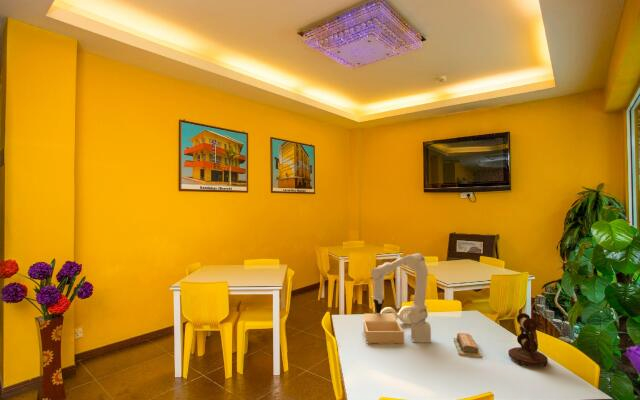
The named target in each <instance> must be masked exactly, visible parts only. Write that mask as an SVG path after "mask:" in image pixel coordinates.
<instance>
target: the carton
mask: <svg viewBox="0 0 640 400" xmlns="http://www.w3.org/2000/svg"><path fill="white" fill-rule="evenodd" d="M404 332H405V331H404V330H403V328H402V326H401V325H400V323H399V321H396V322H365V321H363V334H365V335H364V338H366V339H365V341H366V342H368V343H394V344H396V345H397V344H399V345H400V344H402V345H403V344H404V342H405V340H404V339H405V338H404V337H405V336H404V335H405V334H404Z"/></svg>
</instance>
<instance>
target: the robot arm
mask: <svg viewBox="0 0 640 400" xmlns="http://www.w3.org/2000/svg"><path fill="white" fill-rule="evenodd" d="M403 265H404V266H407V267H408V268H410V269H411V270H412V271H413V272H415V274H416V278H415V284H414V285H415V288H414V296H413V304H412V305H411V306H410V307H411V310H410V312H409V314H408V318H409V320H410V321H411V324H410V334H411V335H410V334H409V336H408V337H409V339H410V340H411V342H412V343H432V331H431V324H430V322H428V321H426V319H427V318H428V316H429V315H428V309H427V308H428V307H427V305H426V304H425V302H426V292H427V285H428V274H429V269H428V267H427V264H426V257H424V256H423V254H422V253H419V252H416V253H413V254H407V255H405V256H402V257H399V258H398V259H396V260H394V261H391V262H388V261H385V262H383V264H380V265H377V267H373V268H372V269H371V270H370V275H371V277H372V286H373V287H372V292H373V293H372V295H371V297H370V298H371V299H372V301H373V303H374V306H375V307H374V308H375V312H376V314H380V313H381V310H382V307H383V305H384V302H385V301H384V298H385V297H384V277H385V276H386V275H388V274H391V273H393V272H394V270H395V268H398V267H401V266H403Z"/></svg>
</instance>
